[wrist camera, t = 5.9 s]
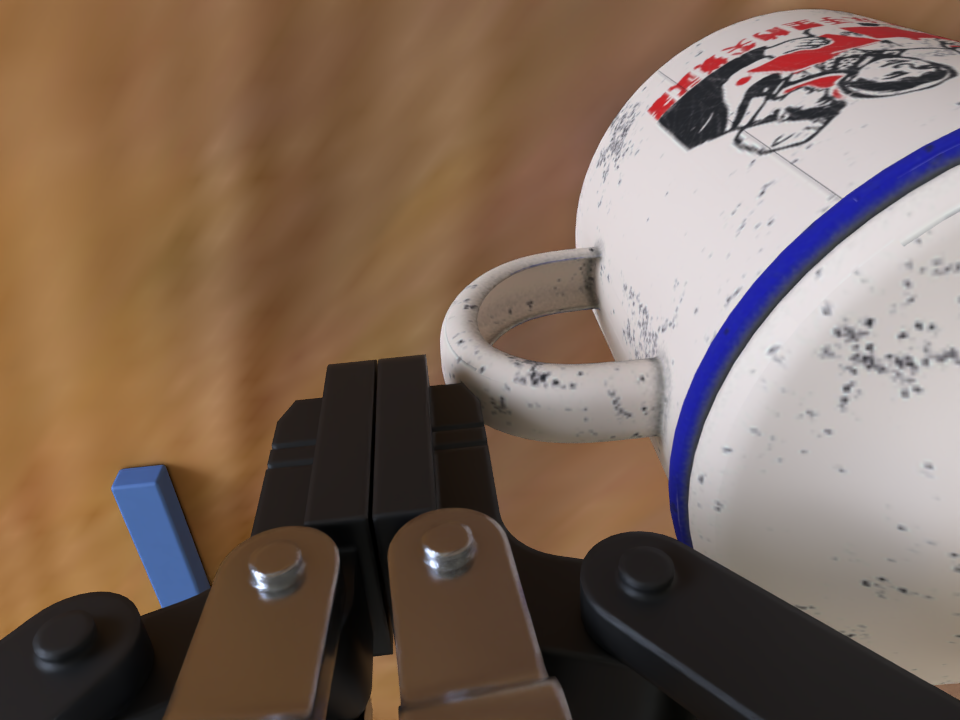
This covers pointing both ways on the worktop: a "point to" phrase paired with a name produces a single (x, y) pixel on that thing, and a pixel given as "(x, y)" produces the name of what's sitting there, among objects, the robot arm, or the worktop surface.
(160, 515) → the spoon
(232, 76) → the worktop surface
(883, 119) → the teacup with lid
